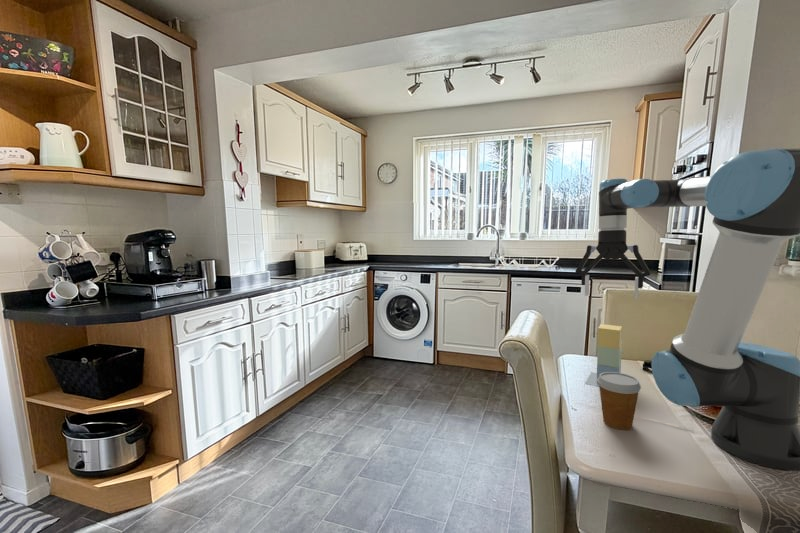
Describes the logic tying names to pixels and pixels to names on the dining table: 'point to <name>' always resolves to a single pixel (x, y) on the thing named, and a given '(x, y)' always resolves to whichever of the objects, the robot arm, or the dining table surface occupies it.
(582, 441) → the dining table surface
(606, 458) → the dining table surface
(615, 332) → the ochre brick
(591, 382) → the slate board
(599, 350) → the sage brick
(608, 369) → the blue base brick
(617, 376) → the disposable coffee cup
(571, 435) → the dining table surface
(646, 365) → the black mounting plate
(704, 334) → the robot arm
